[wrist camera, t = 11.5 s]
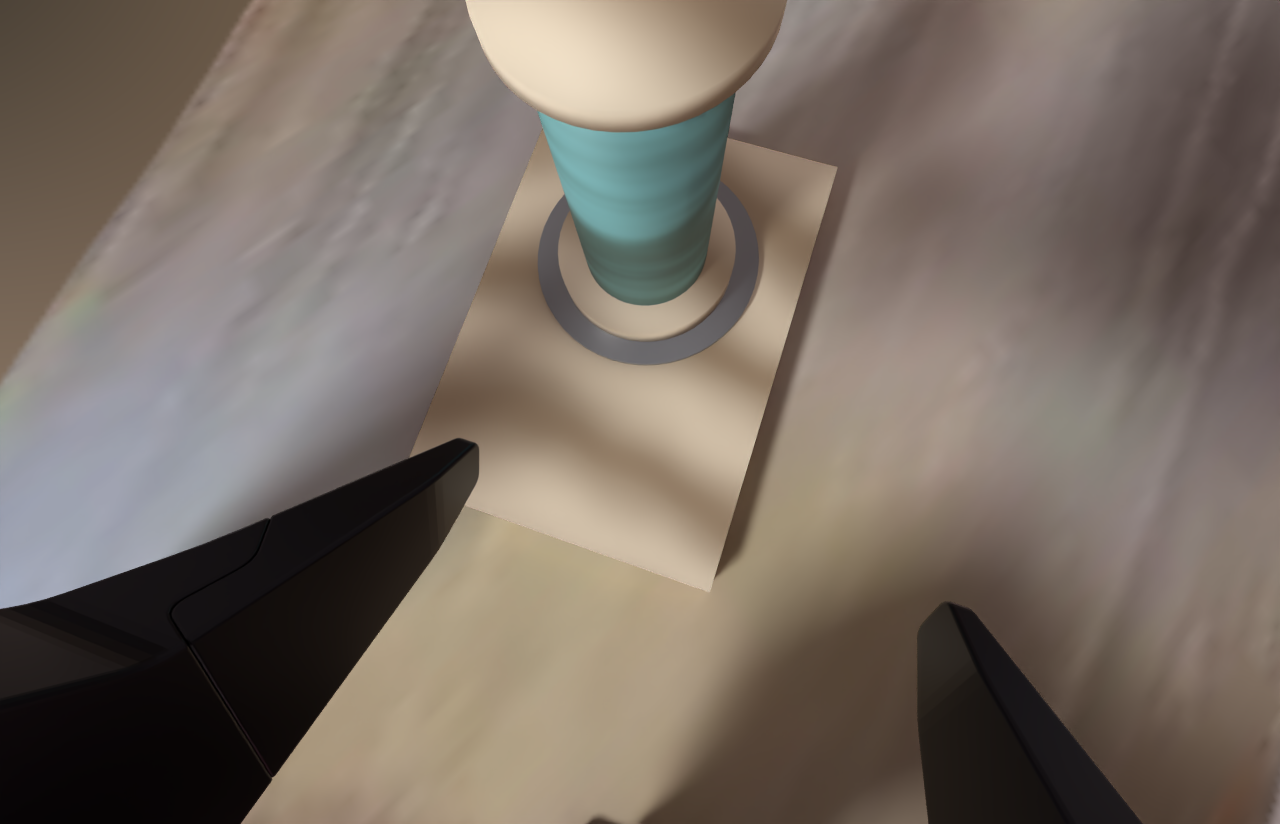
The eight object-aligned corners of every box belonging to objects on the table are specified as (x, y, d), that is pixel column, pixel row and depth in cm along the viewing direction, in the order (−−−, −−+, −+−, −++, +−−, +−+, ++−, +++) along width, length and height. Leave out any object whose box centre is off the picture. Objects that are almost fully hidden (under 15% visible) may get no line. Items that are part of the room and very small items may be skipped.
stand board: (706, 586, 22) (710, 593, 21) (415, 483, 24) (395, 482, 22) (827, 186, 25) (839, 163, 23) (563, 115, 27) (555, 87, 25)
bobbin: (701, 364, 22) (751, 181, 9) (538, 311, 23) (380, 74, 10) (753, 210, 23) (864, -144, 10) (597, 164, 24) (520, -219, 11)
